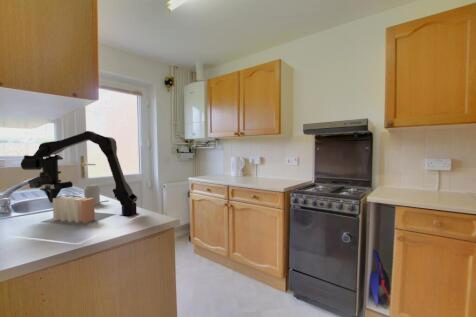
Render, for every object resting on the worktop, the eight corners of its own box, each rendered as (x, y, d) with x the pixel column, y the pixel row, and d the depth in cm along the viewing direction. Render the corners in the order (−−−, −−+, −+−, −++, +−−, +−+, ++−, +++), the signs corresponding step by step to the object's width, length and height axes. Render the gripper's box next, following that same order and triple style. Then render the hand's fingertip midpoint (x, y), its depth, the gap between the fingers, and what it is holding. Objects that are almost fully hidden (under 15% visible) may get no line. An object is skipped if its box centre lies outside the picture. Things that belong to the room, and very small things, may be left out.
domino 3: (80, 218, 108) (79, 197, 107) (70, 221, 103) (69, 199, 102) (77, 217, 108) (77, 196, 107) (67, 221, 103) (66, 199, 103)
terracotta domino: (94, 219, 106) (94, 198, 105) (85, 222, 101) (84, 200, 100) (91, 219, 106) (91, 197, 106) (82, 222, 101) (81, 200, 101)
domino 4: (87, 218, 107) (86, 197, 106) (77, 222, 102) (77, 200, 101) (84, 218, 107) (84, 197, 107) (75, 222, 102) (74, 199, 102)
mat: (116, 215, 114) (116, 214, 114) (84, 227, 97) (84, 226, 97) (76, 212, 120) (76, 210, 120) (40, 223, 102) (40, 221, 102)
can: (81, 206, 131) (80, 185, 130) (93, 203, 138) (92, 183, 137) (91, 207, 129) (90, 186, 128) (103, 204, 136) (102, 184, 135)
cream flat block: (73, 217, 109) (72, 196, 108) (63, 220, 104) (62, 199, 103) (70, 217, 109) (70, 196, 108) (60, 220, 104) (59, 198, 103)
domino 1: (66, 217, 109) (66, 196, 109) (56, 220, 105) (55, 198, 104) (64, 216, 110) (63, 196, 109) (53, 220, 105) (52, 198, 104)
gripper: (15, 171, 101) (17, 205, 102) (48, 171, 97) (50, 208, 98) (41, 168, 112) (43, 200, 113) (72, 169, 108) (74, 202, 109)
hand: (52, 202), depth 108 cm, fingers closed
